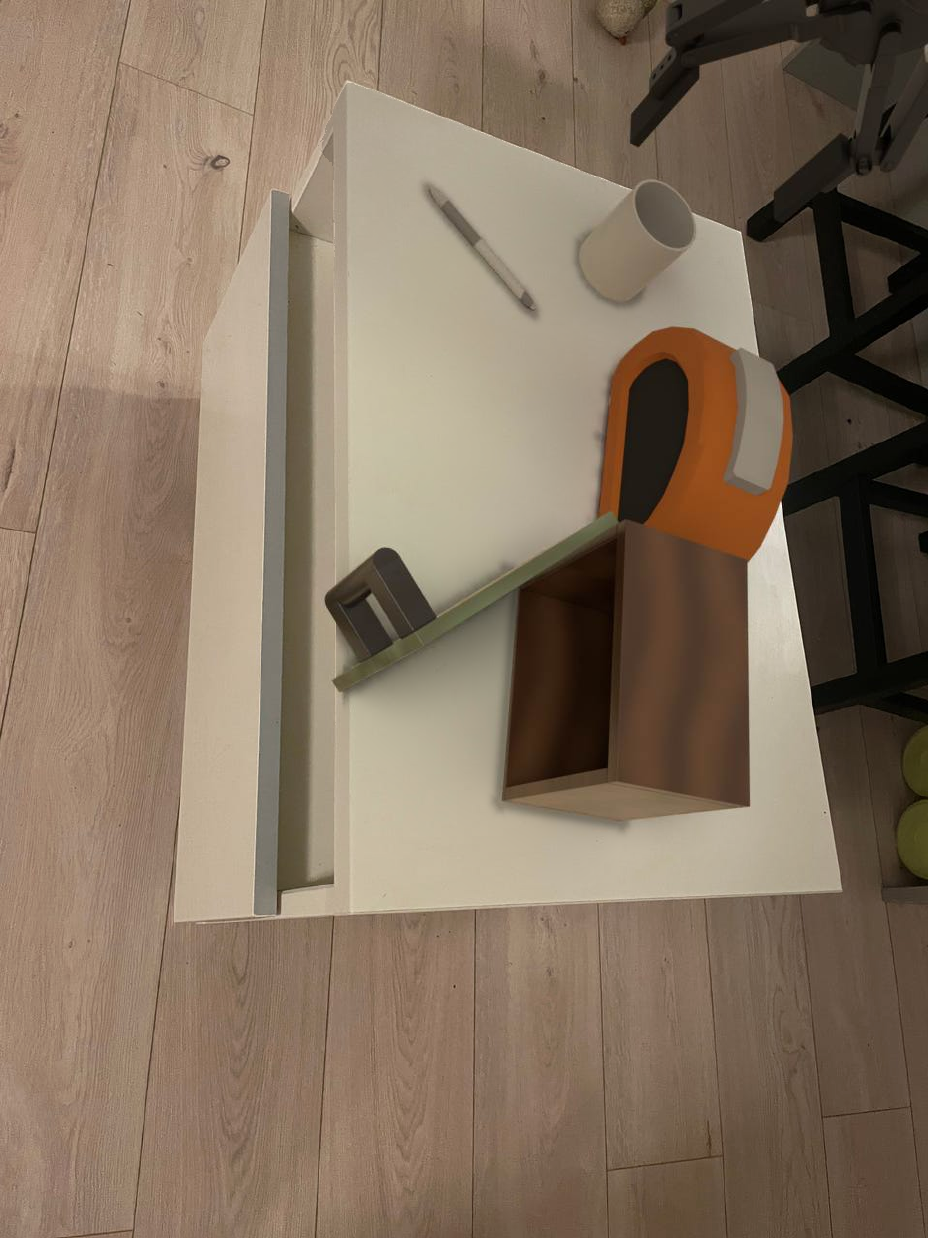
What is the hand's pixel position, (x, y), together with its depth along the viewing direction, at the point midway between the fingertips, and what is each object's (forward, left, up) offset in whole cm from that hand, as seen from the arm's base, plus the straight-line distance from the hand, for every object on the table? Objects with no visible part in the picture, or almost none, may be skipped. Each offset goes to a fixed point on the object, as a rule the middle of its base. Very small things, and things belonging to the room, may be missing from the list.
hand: (708, 171), depth 69 cm
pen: (-3, -9, -20) cm, 22 cm away
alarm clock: (+15, +9, -20) cm, 27 cm away
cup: (-9, +5, -20) cm, 23 cm away
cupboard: (+36, +3, -20) cm, 42 cm away
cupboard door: (+31, -12, -20) cm, 39 cm away
